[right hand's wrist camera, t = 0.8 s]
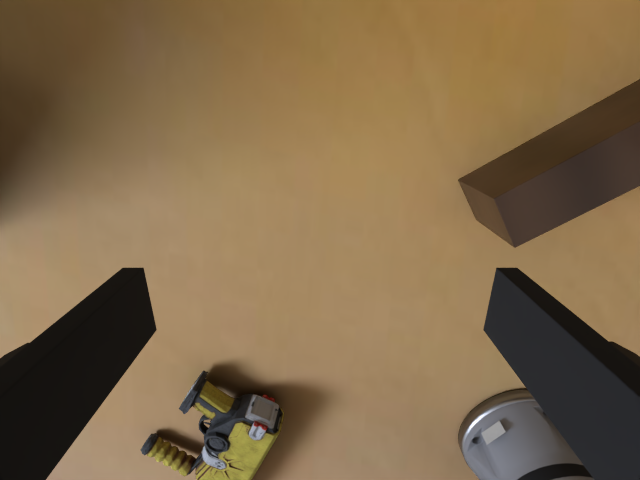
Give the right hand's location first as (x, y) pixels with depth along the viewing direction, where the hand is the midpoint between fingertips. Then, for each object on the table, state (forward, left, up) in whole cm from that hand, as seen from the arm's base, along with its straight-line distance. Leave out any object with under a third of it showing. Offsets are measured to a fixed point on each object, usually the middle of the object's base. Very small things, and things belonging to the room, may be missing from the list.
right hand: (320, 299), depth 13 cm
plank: (-10, -27, -23) cm, 36 cm away
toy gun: (-23, +32, -23) cm, 45 cm away
